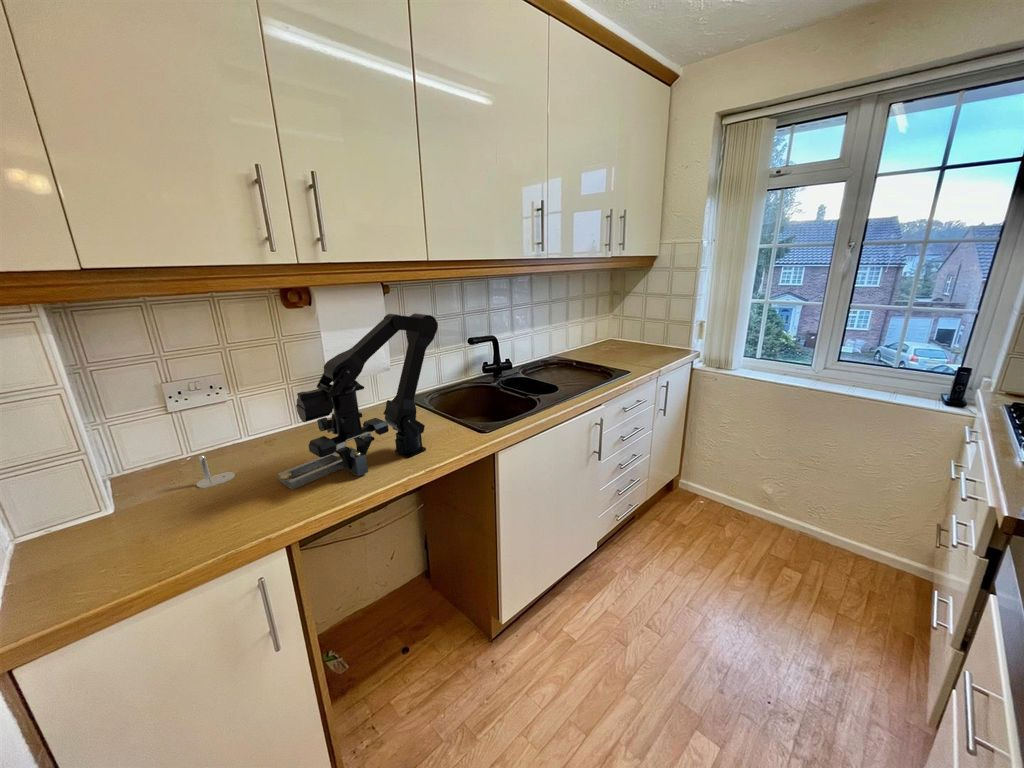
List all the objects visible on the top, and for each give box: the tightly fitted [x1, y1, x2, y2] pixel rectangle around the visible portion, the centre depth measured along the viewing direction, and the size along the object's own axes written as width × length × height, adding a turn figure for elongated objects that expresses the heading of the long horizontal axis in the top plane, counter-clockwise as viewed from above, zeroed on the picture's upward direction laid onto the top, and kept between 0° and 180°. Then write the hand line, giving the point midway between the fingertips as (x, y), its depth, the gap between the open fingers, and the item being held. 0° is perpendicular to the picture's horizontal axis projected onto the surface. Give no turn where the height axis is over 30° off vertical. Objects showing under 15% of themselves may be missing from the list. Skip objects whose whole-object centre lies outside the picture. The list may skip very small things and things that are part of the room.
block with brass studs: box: [342, 446, 369, 477], centre depth 105 cm, size 7×3×6 cm, turn 50°
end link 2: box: [315, 452, 344, 474], centre depth 110 cm, size 6×7×3 cm
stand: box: [196, 455, 236, 489], centre depth 103 cm, size 8×5×8 cm
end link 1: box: [277, 459, 329, 490], centre depth 104 cm, size 10×7×3 cm
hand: (355, 466), depth 106 cm, fingers closed on block with brass studs, 3 cm apart
